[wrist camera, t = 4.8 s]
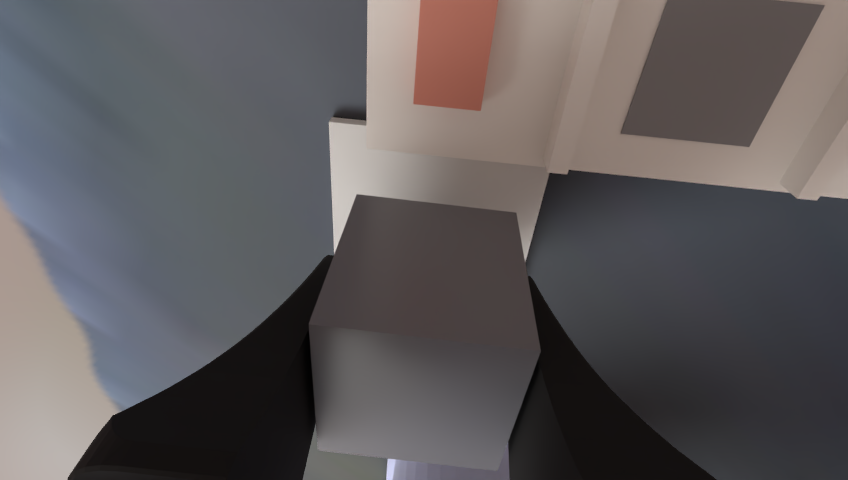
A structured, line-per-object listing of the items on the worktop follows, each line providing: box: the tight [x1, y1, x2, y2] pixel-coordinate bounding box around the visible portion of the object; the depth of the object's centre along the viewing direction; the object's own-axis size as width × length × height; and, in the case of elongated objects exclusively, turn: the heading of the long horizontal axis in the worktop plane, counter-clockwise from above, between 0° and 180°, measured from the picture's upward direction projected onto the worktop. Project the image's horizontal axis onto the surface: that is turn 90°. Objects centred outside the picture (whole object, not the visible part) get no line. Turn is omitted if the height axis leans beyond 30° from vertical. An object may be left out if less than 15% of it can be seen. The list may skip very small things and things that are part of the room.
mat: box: [329, 117, 549, 262], centre depth 16 cm, size 7×7×1 cm
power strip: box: [366, 0, 848, 201], centre depth 10 cm, size 6×20×6 cm, turn 85°
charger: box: [309, 194, 541, 471], centre depth 12 cm, size 4×5×5 cm
